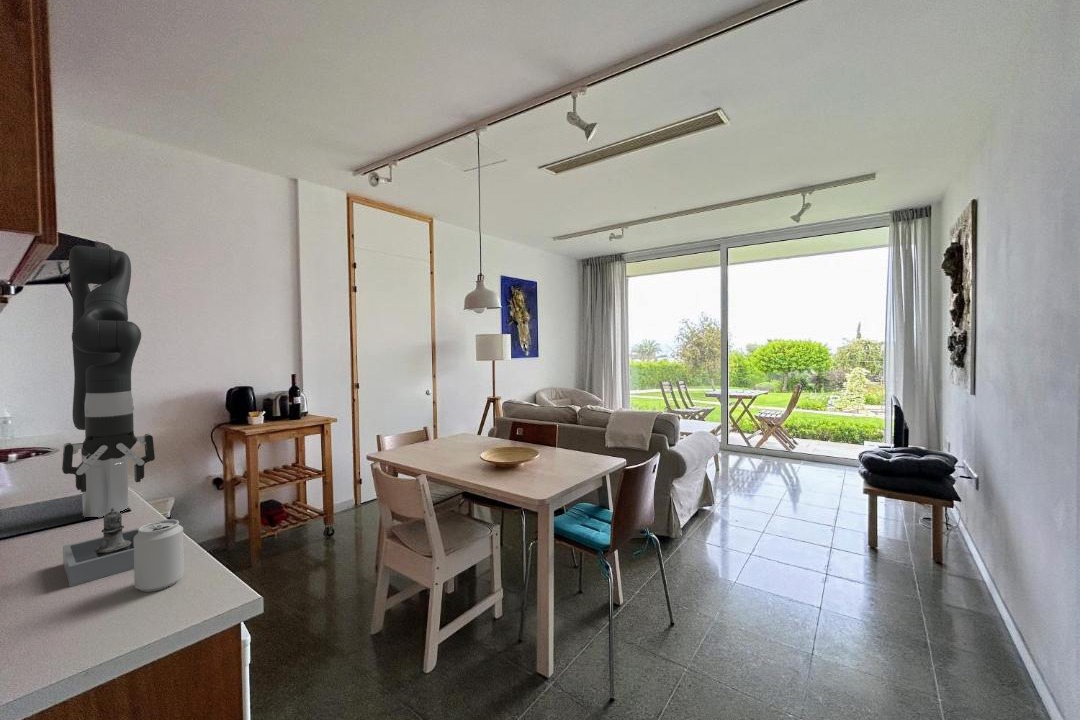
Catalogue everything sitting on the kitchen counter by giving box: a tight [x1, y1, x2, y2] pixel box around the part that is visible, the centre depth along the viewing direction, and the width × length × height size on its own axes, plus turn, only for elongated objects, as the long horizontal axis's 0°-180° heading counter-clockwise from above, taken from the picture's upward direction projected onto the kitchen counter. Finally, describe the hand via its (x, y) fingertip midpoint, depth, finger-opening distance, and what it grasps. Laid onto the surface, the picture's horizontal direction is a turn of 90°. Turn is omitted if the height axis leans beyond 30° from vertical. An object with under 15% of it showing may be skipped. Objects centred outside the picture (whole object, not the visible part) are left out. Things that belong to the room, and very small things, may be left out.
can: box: [133, 519, 185, 593], centre depth 88 cm, size 8×8×12 cm
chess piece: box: [94, 508, 131, 558], centre depth 96 cm, size 6×6×12 cm
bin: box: [62, 527, 140, 587], centre depth 96 cm, size 14×14×4 cm
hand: (111, 486), depth 96 cm, fingers open, 8 cm apart
